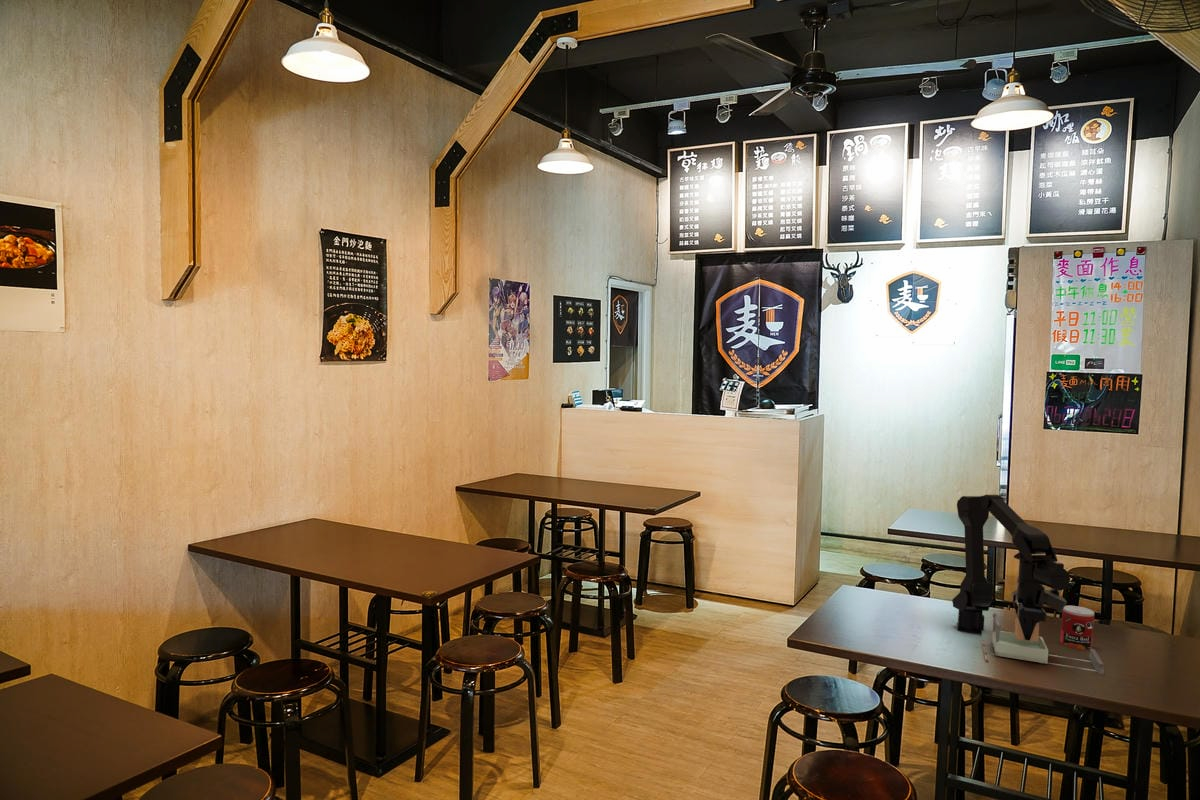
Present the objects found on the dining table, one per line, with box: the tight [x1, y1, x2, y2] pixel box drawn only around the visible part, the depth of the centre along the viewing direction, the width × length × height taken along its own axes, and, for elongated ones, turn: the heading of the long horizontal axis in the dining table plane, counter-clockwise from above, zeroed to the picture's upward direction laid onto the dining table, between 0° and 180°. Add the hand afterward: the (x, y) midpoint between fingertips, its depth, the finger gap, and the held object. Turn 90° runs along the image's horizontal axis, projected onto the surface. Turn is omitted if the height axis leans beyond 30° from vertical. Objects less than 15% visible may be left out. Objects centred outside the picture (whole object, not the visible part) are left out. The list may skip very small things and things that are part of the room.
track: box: [980, 639, 1105, 676], centre depth 206 cm, size 27×16×4 cm, turn 67°
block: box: [1014, 615, 1040, 642], centre depth 208 cm, size 5×5×5 cm
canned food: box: [1059, 605, 1095, 651], centre depth 218 cm, size 8×8×11 cm
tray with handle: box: [991, 612, 1049, 665], centre depth 208 cm, size 12×11×9 cm
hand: (1026, 636), depth 208 cm, fingers closed on block, 5 cm apart
